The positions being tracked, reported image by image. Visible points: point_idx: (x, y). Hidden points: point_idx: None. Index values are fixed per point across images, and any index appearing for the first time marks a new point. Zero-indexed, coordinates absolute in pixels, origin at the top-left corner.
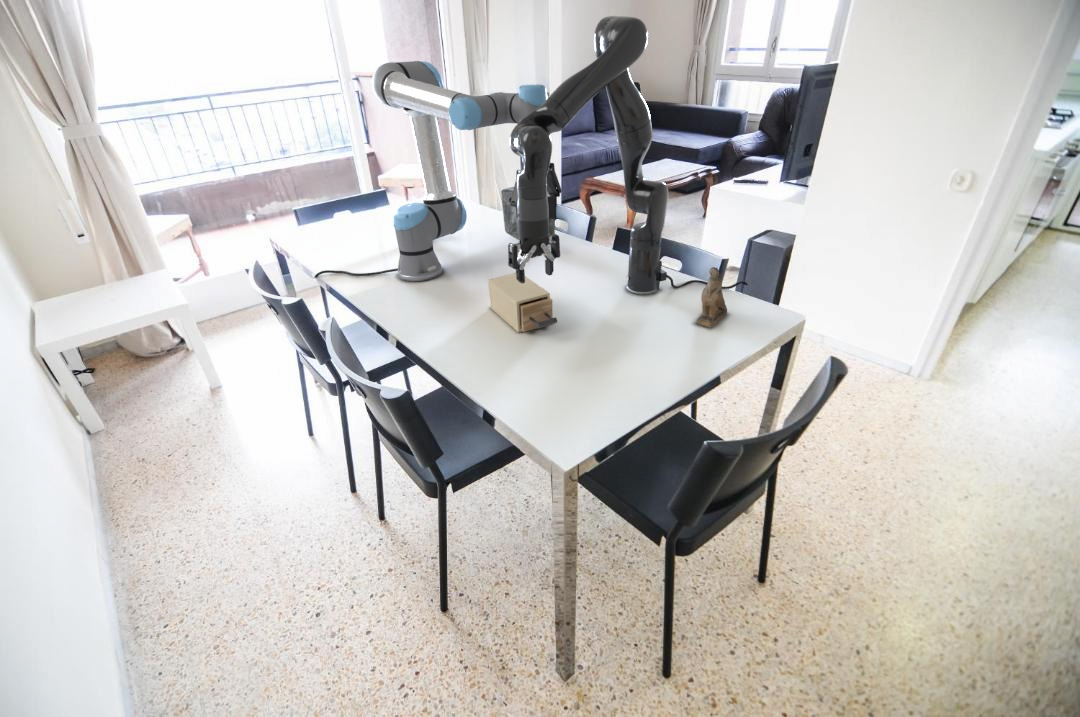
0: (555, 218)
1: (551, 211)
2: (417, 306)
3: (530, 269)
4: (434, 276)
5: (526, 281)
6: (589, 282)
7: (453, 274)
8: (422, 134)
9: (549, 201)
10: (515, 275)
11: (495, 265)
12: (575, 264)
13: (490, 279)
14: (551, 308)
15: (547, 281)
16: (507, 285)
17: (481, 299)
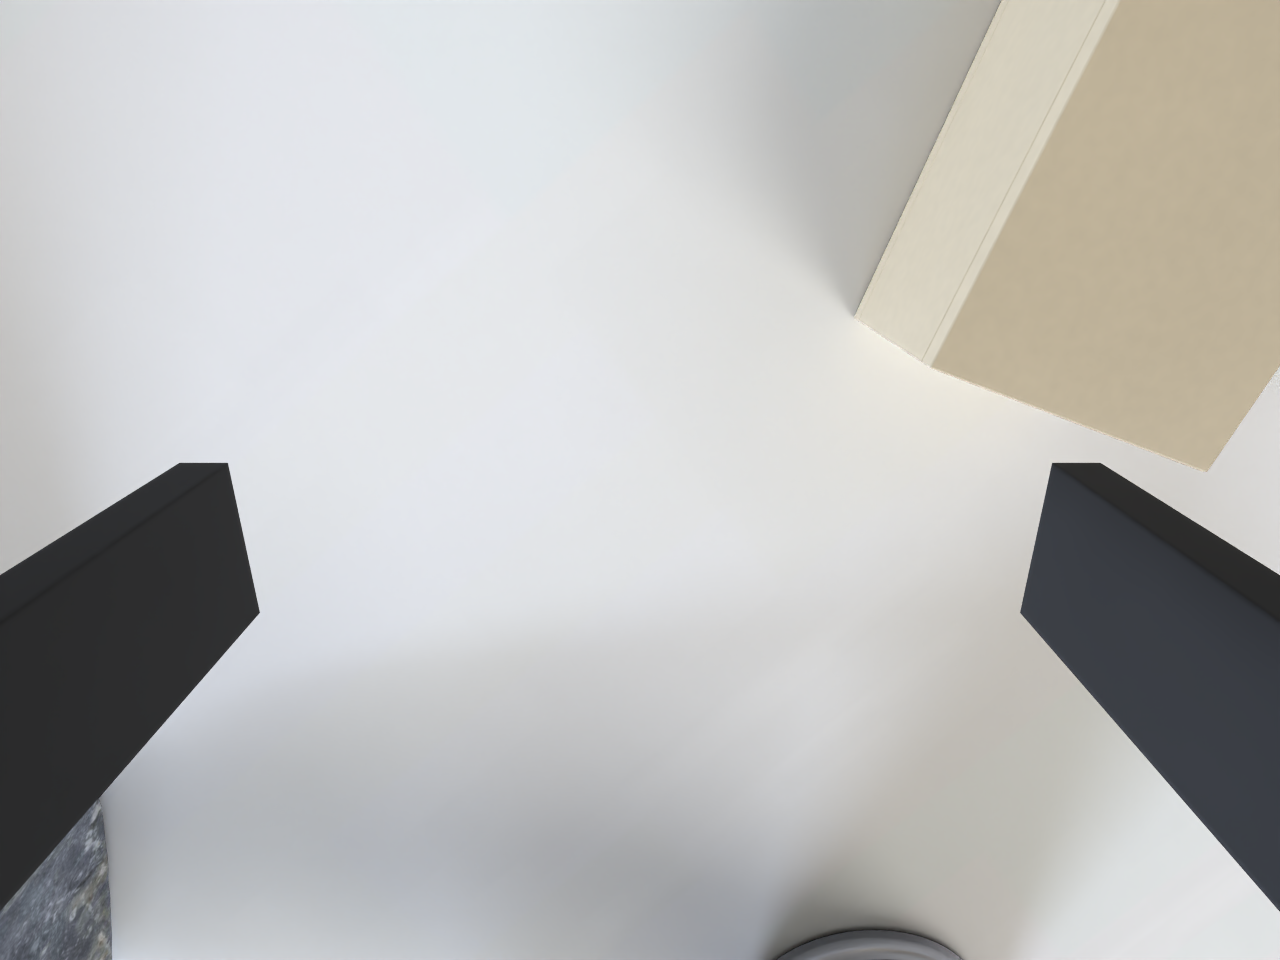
0: (200, 469)
1: (163, 612)
2: None
3: (399, 617)
4: (871, 936)
5: (1106, 140)
6: (255, 84)
7: (766, 894)
8: None
9: (13, 822)
10: (1017, 342)
11: (506, 817)
12: (80, 425)
13: (1196, 459)
14: None
15: (476, 384)
16: (1269, 232)
17: (976, 538)
